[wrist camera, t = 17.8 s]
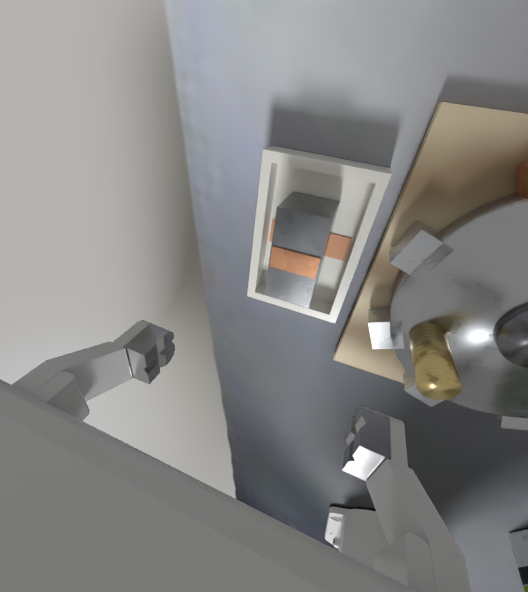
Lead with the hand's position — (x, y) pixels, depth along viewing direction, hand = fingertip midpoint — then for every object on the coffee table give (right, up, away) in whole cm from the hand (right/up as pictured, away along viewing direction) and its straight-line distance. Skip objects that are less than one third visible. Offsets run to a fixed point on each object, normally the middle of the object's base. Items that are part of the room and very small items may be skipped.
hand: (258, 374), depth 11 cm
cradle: (+4, +8, +12) cm, 15 cm away
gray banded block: (+4, +8, +11) cm, 14 cm away
